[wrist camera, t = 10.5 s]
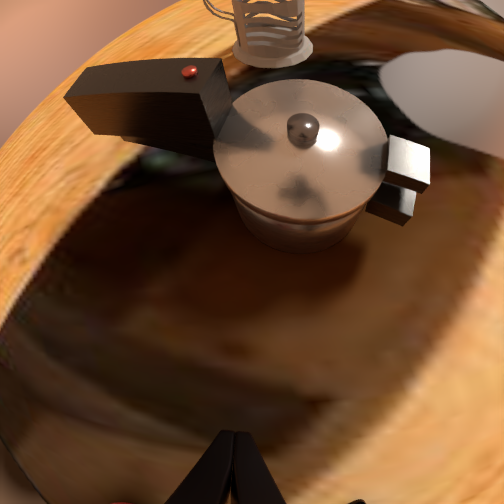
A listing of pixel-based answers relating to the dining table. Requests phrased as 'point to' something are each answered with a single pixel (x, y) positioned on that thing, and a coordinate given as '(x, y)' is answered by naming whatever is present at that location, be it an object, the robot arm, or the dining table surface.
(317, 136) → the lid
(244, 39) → the french press
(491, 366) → the dining table surface
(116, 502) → the plant pot
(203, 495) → the robot arm
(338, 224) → the pot
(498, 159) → the dining table surface
